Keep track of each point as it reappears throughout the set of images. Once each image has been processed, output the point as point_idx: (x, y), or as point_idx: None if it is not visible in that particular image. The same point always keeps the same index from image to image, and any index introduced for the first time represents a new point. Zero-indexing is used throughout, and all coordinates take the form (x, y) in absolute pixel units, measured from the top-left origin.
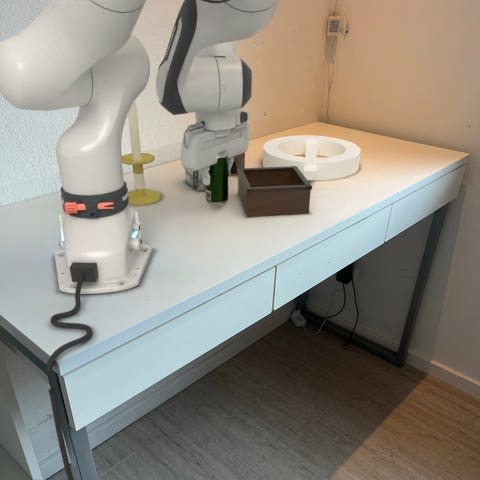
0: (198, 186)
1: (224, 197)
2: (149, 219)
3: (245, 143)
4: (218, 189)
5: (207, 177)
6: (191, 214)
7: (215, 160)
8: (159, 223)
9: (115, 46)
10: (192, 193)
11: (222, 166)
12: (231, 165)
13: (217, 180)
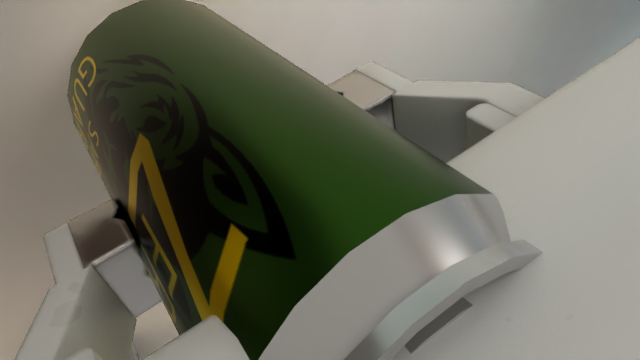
0: (137, 358)
1: (159, 8)
2: (468, 78)
3: None
4: (251, 39)
5: (424, 85)
6: (324, 44)
7: (505, 163)
8: (473, 15)
9: None
10: (169, 316)
11: (349, 129)
12: (43, 323)
13: (305, 72)
